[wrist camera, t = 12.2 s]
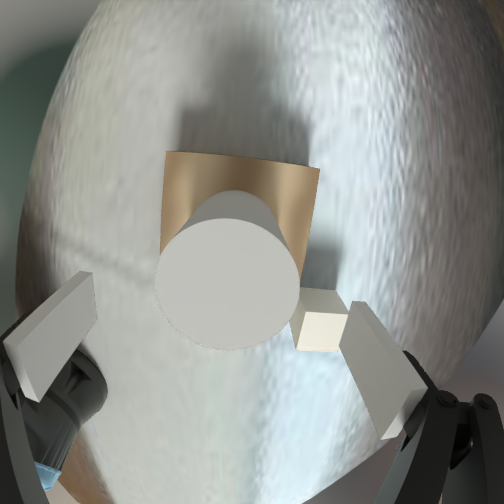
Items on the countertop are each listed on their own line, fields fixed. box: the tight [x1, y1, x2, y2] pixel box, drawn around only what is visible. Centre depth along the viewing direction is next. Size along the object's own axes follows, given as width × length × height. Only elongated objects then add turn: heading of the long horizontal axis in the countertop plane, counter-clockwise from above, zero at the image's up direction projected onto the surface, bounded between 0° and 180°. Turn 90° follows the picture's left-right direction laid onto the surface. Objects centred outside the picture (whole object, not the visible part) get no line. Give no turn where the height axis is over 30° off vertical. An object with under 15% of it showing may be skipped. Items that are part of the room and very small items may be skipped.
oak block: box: [160, 151, 320, 280], centre depth 30 cm, size 14×14×5 cm
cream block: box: [289, 287, 349, 352], centre depth 33 cm, size 5×5×6 cm
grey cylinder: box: [154, 190, 300, 350], centre depth 22 cm, size 8×8×12 cm
